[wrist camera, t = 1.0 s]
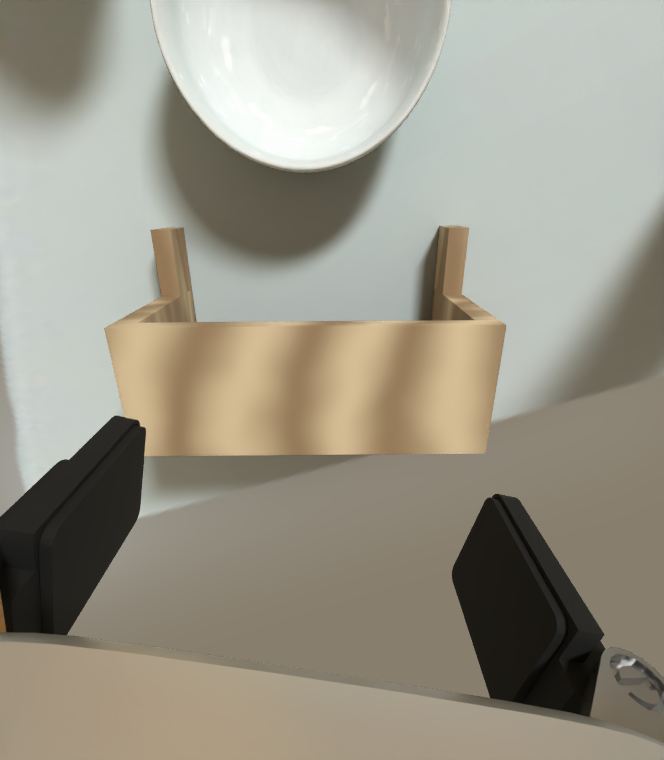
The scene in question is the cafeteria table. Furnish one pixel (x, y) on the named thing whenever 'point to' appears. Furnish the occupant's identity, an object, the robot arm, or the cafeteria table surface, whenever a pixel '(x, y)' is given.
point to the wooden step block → (308, 373)
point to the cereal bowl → (301, 72)
